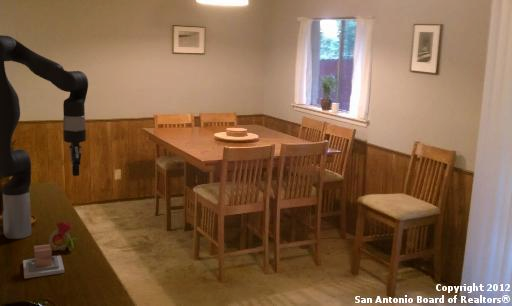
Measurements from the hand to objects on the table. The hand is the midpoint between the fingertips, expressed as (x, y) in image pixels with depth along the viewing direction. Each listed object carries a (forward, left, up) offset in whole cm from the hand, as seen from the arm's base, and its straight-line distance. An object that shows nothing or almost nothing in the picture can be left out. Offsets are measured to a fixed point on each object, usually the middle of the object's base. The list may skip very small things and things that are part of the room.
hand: (75, 175), depth 184 cm
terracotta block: (+6, -20, -26) cm, 33 cm away
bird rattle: (-1, -6, -27) cm, 28 cm away
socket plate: (+6, -20, -27) cm, 34 cm away
